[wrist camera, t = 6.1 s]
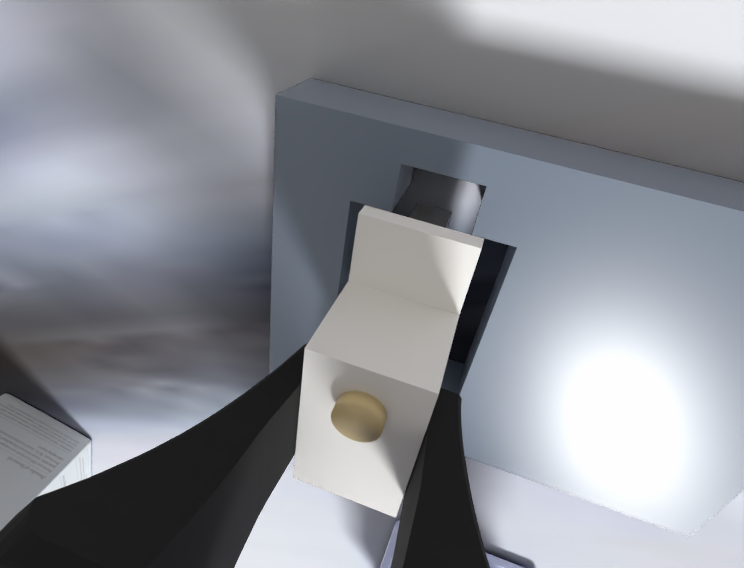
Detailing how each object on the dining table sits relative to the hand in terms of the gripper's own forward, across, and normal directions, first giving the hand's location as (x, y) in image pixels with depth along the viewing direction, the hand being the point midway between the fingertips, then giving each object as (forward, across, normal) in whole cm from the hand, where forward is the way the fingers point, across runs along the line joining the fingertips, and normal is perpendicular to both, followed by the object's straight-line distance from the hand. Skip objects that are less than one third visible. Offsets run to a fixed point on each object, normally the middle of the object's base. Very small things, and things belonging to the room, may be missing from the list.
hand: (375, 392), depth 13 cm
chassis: (+6, -4, 0) cm, 7 cm away
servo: (+4, 0, 0) cm, 4 cm away
